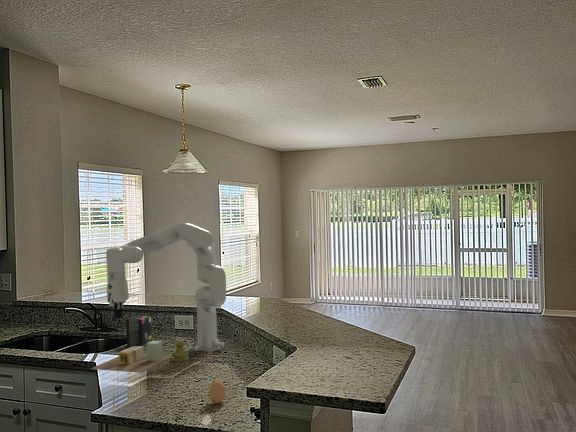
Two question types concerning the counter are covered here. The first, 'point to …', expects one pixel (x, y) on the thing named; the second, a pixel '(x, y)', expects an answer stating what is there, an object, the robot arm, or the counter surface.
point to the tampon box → (138, 331)
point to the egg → (217, 392)
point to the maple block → (131, 355)
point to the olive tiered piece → (180, 353)
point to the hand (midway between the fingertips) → (118, 317)
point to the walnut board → (131, 365)
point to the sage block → (154, 351)
